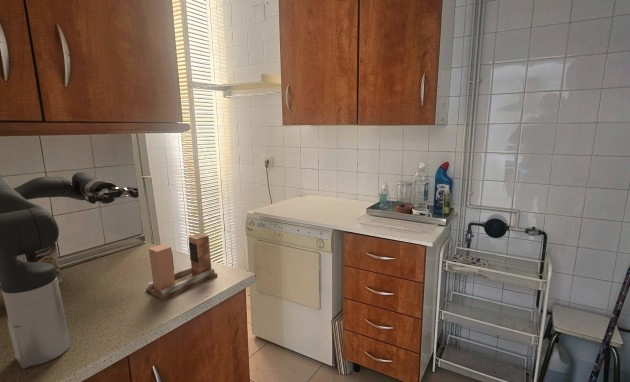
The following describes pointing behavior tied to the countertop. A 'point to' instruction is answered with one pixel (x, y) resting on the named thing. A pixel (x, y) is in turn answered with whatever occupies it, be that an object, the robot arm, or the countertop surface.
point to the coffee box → (44, 258)
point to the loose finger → (162, 267)
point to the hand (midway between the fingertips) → (122, 197)
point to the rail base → (190, 269)
